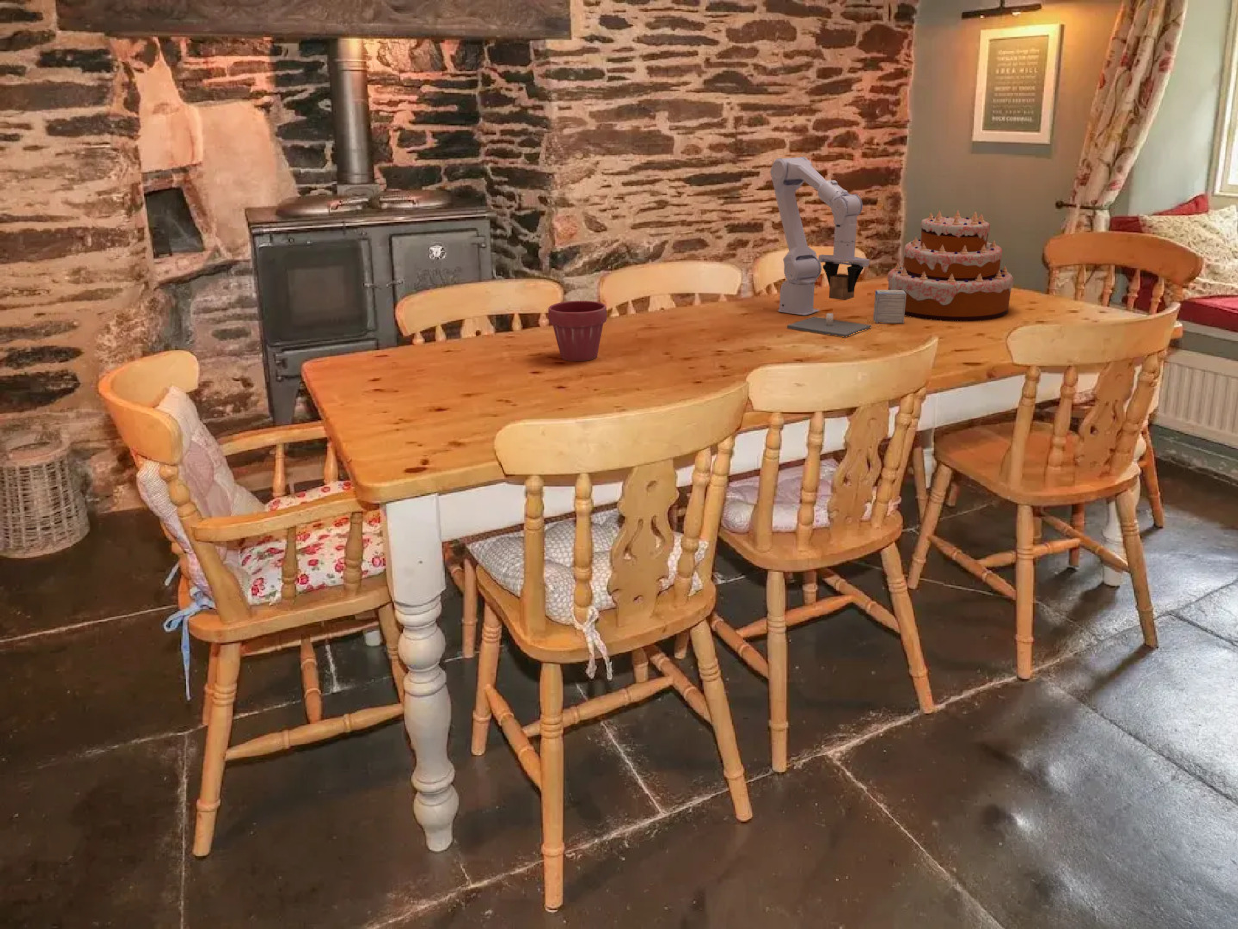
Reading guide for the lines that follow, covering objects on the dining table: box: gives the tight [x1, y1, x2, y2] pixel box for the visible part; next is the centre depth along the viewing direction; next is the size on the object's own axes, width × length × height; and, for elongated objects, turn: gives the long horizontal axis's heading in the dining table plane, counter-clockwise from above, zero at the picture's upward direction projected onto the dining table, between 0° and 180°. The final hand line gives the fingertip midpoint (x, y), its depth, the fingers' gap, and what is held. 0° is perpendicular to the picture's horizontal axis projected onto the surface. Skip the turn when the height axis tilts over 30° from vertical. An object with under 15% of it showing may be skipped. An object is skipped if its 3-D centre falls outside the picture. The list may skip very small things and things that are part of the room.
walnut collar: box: [828, 273, 856, 301], centre depth 278 cm, size 5×5×6 cm
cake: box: [887, 210, 1014, 322], centre depth 292 cm, size 35×35×28 cm
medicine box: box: [873, 289, 906, 324], centre depth 280 cm, size 8×4×9 cm, turn 84°
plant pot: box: [547, 300, 608, 362], centre depth 248 cm, size 14×14×13 cm
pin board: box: [786, 312, 872, 338], centre depth 275 cm, size 18×14×4 cm
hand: (841, 290), depth 278 cm, fingers closed on walnut collar, 5 cm apart
